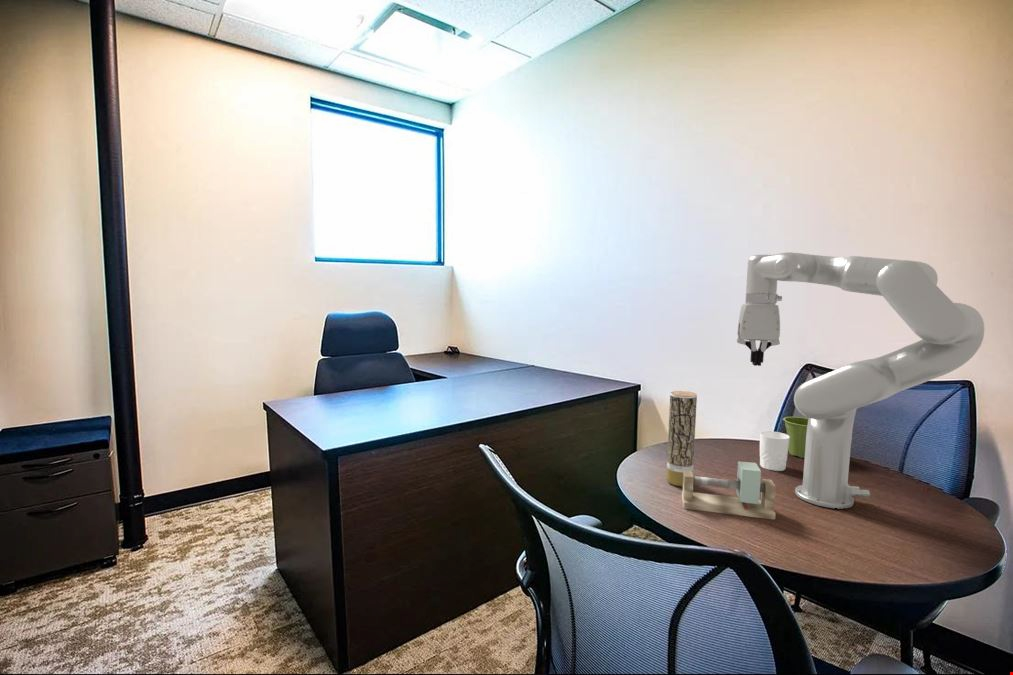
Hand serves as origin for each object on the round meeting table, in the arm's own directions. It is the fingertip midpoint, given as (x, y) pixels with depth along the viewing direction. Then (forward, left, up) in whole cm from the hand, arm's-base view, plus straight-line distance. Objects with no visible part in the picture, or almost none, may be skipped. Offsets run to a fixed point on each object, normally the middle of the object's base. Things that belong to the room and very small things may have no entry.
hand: (756, 364), depth 137 cm
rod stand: (+10, +25, -32) cm, 42 cm away
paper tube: (+20, +12, -32) cm, 40 cm away
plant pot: (-20, -24, -32) cm, 45 cm away
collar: (+5, +25, -29) cm, 39 cm away
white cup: (-8, -9, -32) cm, 34 cm away
